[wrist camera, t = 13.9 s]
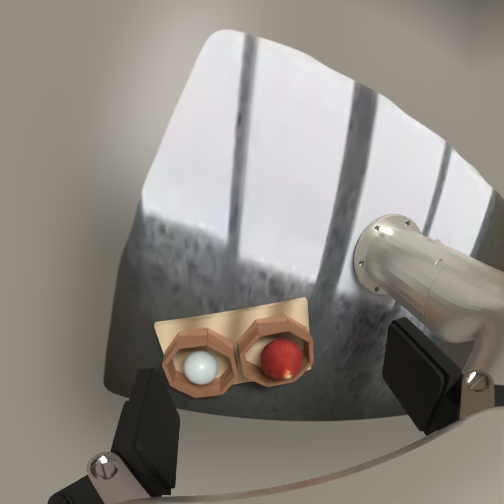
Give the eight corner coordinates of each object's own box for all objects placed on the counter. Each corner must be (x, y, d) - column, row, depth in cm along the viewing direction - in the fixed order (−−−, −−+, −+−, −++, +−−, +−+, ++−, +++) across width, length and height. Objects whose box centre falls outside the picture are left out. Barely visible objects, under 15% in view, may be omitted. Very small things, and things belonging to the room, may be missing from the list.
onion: (285, 362, 43) (297, 397, 36) (251, 355, 42) (258, 390, 35) (301, 333, 42) (317, 366, 34) (266, 324, 41) (276, 357, 33)
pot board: (304, 297, 42) (314, 312, 37) (308, 364, 46) (316, 382, 41) (155, 322, 40) (149, 339, 36) (179, 386, 44) (176, 405, 40)
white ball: (214, 341, 41) (214, 363, 36) (220, 367, 42) (221, 389, 38) (180, 346, 41) (177, 367, 36) (189, 371, 42) (187, 393, 37)
